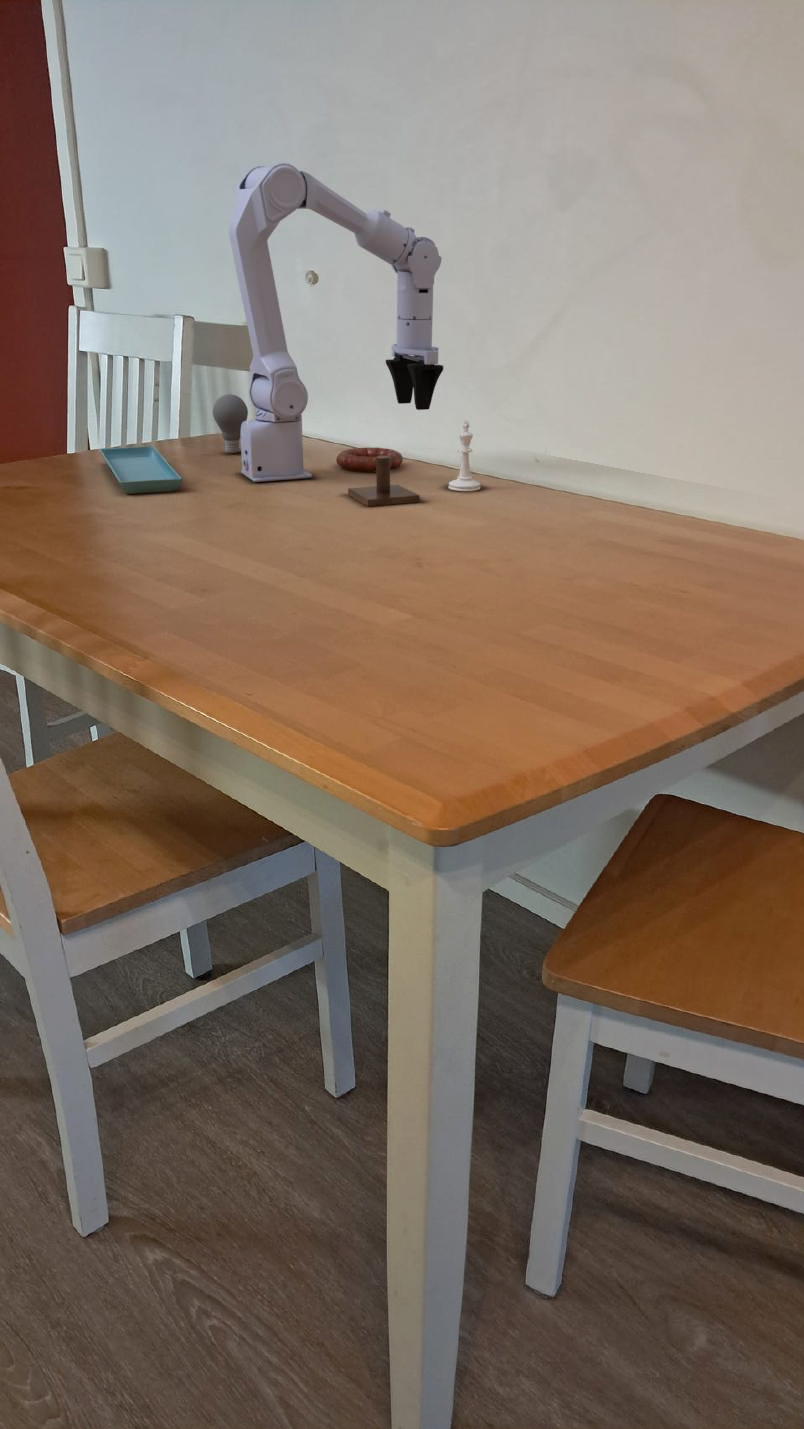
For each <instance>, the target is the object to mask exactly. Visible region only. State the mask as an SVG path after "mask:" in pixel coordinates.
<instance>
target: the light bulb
mask: <svg viewBox="0 0 804 1429" xmlns="http://www.w3.org/2000/svg"><path fill="white" fill-rule="evenodd" d="M212 415H213V419H214V421H215V423H216V424H217V426H218V427H219V430H220V432H221V436H222V438H223V440H224V446H225V447H224V451H225V452H226V453H228V454H230V455H235V454H237V453H238V452H241V447H240V445H241V442H240V440H241V425H242V423H243V422H244V421H248V415H249V410H248V406H247V404H246V403H245V401H244V400H243V399H242V398H241V397H240V396H238V395H235V394H231V393H227V394H223V395H221V396H220V397H219V398H218V399H217V400H216V401H215V402H214V405H213V407H212Z"/></svg>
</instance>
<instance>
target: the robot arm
mask: <svg viewBox="0 0 804 1429" xmlns="http://www.w3.org/2000/svg"><path fill="white" fill-rule="evenodd" d="M296 210H311V211H312V212H314V213H316V214H318V215H320V216H322V217H323V218H326V219H327V220H329V221H331V222H333V223H335V224H337V225H339V226H340V227H342V228H344V229H345V230H348V231H349V232H351V233H353V234H354V238H355V240H356V243H357V246H359V247H360V248H362V249H364V250H365V251H367V252H369V254H372V255H374V256H375V257H377V258H379V259H381V260H382V261H383V262H385V263H387V264H388V265H391V268H392V269H393V271H394V272H395V273H396V274H397V275H396V276H397V278H396V280H397V281H396V282H397V284H396V285H397V286H396V343H391V357H393V359H391V358H390V359H385V365H386V367H387V368H388V370H389V373H390V375H391V378H392V382H393V386H394V387H393V388H394V391H395V396H396V400H397V403H398V404H399V405H400V404H401V405H402V404H403V405H404V404H411V403H412V399H414V406H415V410H417V411H422V410H423V411H424V410H426V411H427V410H430V407H431V405H432V400H433V395H434V391H435V389H436V386H437V383H438V380H439V378H440V377H441V374H442V373H443V371H444V365H442V364H439V347H437V346H433V317H434V316H433V314H434V285H435V276H436V273H438V271H439V269H440V267H441V263H442V258H443V257H442V256H441V255H439V249H438V247H436V243H435V242H434V241H433V240H432V239H431V238H429V237H425V236H416V233H415V231H416V230H415V229H414V228H413V227H411V226H403V225H402V224H401V223H399V222H397V221H396V220H394V219H392V218H391V215H392V214H391V212H389V211H388V210H386V209H380V210H377V209H371V210H369V211H367V212H365V211H363V210H362V209H360V208H359V207H357V206H356V205H354V204H353V203H352V202H350V201H349V200H347V199H346V198H344V197H343V196H341V195H340V194H339V193H337V192H336V191H334V190H333V189H331V188H330V187H328V186H327V185H325V184H324V183H322V182H321V180H318V179H317V178H315V177H314V176H313V175H312V174H310V173H308V172H306V171H303V170H299V169H298V168H297V167H296V166H294V165H292V164H290V163H287V162H281V163H280V162H279V163H276V164H273V165H267V166H266V165H257V166H254V167H253V168H251V169H250V170H249V171H247V173H246V174H245V175H244V176H243V178H242V179H241V180H240V182H239V183H238V184H237V186H236V199H235V203H234V206H233V210H232V214H231V218H230V222H229V225H228V236H229V241H230V247H231V252H232V256H233V262H234V267H235V272H236V276H237V282H238V286H239V291H240V297H241V300H242V306H243V312H244V316H245V321H246V325H247V330H248V331H247V332H248V335H249V340H250V345H251V352H252V355H253V356H252V360H251V361H250V364H249V373H250V382H249V387H248V396H249V399H250V402H251V403H252V405H253V406H254V407H255V408H256V410H255V415H254V416H255V419H251V420H246V421H244V422H243V423H242V425H241V437H240V452H241V471H240V473H241V474H242V475H244V476H245V477H246V478H248V479H250V480H251V481H252V482H254V483H259V482H273V481H286V480H298V479H299V480H300V479H312V478H313V474H311V473H310V472H308V471H306V470H305V469H304V444H303V443H304V442H303V440H304V439H303V438H304V437H303V415H302V414H303V412H304V411H305V410H306V408H307V406H308V401H309V394H308V390H307V387H306V385H305V383H304V382H303V381H302V380H301V378H300V376H299V373H298V367H297V365H296V363H295V362H294V360H293V358H292V356H291V355H290V353H289V350H288V344H287V340H286V339H287V338H286V334H285V330H284V329H285V328H284V324H283V323H284V322H283V319H282V313H281V312H282V311H281V307H280V302H279V297H278V292H277V286H276V281H275V280H276V279H275V275H274V271H273V264H272V259H271V254H270V249H269V243H268V240H269V239H270V237H271V236H272V234H273V232H274V231H275V230H276V229H277V227H278V225H279V224H280V222H282V221H283V220H284V219H286V218H287V217H288V216H290V215H291V214H292V213H294V212H295V211H296Z"/></svg>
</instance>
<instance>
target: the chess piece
mask: <svg viewBox="0 0 804 1429" xmlns="http://www.w3.org/2000/svg"><path fill="white" fill-rule="evenodd" d="M469 428H470V423H469V420H467V419H465V420H464V425H463V427H462V429H463V430H464V431H463V432H460V433H459V434H458V436H459V439H460V443H461V448H459V449H458V453H461V462H460V468H459V474H458V475H457V476H456V478H457V479H453V480H451V481H449V482H448V486H447V487H448V489H449V490H451V491H457V492H474V491H479V490H480V489H481V488H482V487H481V483H480V481H478V480H475V479H473V476H472V475H471V468H470V456H469V453H473V449H472V448H470V445H471V442H472V439H473V436H474V435H473V433H472V432H469Z"/></svg>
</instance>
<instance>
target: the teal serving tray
mask: <svg viewBox="0 0 804 1429" xmlns="http://www.w3.org/2000/svg"><path fill="white" fill-rule="evenodd" d="M99 453H100V454H101V456H102V458H103V459H104V461H105V463H106V464H107V466H108V468H109V470H110V471H111V473H112V474H113V476H114V477H115V479H116V480H117V482H118V484H119V485H120V487H121V489H122V490H123V491H124V493H125V494H127V495H130V494H131V495H132V494H133V495H134V494H148V493H168V492H176V491H177V490H178V488H179V486H180V484H181V482H182V480H183V478H182V476H181V475H179V473H178V472H177V471H176V470H175V469H174V468H173V467H172V465H171V464H170V462H168V461H167V459H166V458H165V457H164V456H163V455H162V453H161V452H160V451H159V450H158V449H157V447H156V446H154V445H147V446H145V445H144V446H129V447H127V446H126V447H112V448H100V449H99Z"/></svg>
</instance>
